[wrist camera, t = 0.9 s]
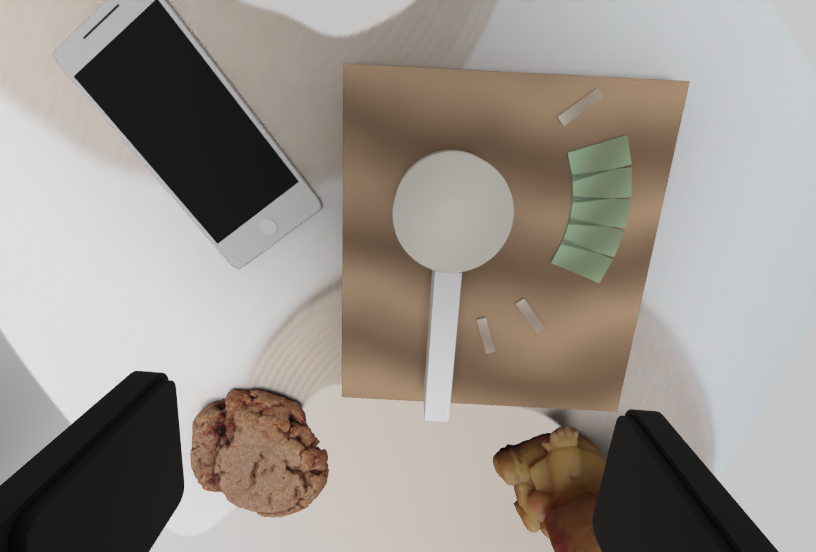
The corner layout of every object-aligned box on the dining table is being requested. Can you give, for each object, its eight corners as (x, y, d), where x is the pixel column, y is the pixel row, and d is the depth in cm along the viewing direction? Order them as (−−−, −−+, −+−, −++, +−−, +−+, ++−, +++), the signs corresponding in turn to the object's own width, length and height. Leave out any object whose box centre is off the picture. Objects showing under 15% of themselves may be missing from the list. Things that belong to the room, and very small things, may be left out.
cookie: (292, 520, 37) (282, 554, 34) (171, 455, 35) (150, 484, 32) (362, 435, 34) (356, 463, 31) (235, 359, 32) (217, 382, 30)
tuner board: (349, 67, 26) (343, 63, 24) (669, 84, 26) (691, 80, 24) (346, 380, 32) (341, 398, 30) (605, 394, 32) (618, 413, 30)
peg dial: (397, 146, 25) (395, 149, 22) (509, 152, 25) (521, 156, 22) (387, 390, 30) (384, 418, 27) (481, 395, 30) (488, 424, 27)
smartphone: (240, 267, 30) (235, 272, 30) (60, 57, 27) (47, 54, 26) (326, 204, 29) (323, 206, 28) (148, -28, 25) (139, -33, 24)
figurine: (471, 439, 34) (588, 632, 19) (559, 387, 34) (735, 536, 20) (525, 535, 36) (661, 766, 22) (605, 485, 37) (789, 679, 23)
